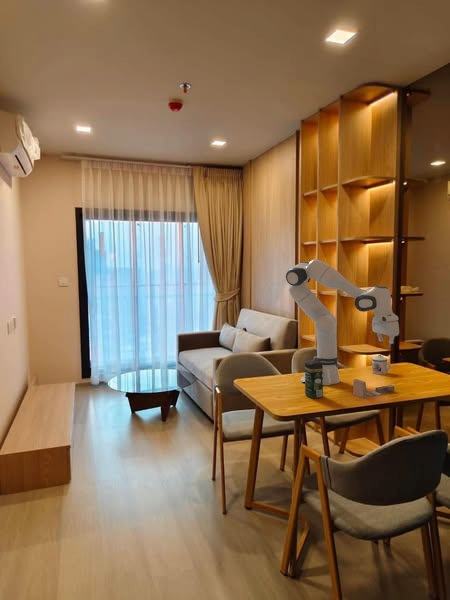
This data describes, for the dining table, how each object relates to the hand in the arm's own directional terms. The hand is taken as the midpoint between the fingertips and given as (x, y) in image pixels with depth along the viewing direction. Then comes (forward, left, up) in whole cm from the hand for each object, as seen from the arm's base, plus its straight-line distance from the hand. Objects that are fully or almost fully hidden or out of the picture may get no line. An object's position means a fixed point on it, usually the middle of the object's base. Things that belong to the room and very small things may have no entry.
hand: (386, 342), depth 214 cm
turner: (-4, -7, -25) cm, 27 cm away
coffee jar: (-37, -18, -26) cm, 48 cm away
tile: (-13, -14, -25) cm, 32 cm away
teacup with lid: (+1, +37, -26) cm, 45 cm away
